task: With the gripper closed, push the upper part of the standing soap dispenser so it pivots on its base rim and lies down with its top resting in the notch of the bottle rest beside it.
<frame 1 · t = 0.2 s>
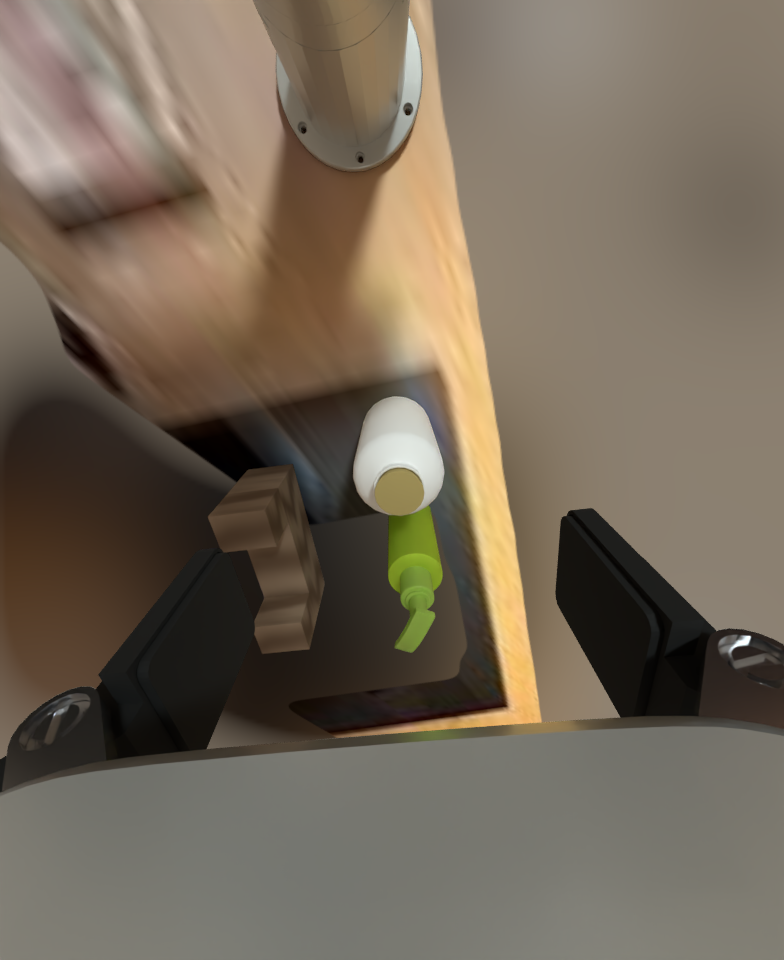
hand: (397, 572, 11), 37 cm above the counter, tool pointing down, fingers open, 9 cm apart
potion bottle: (396, 427, 47), on the counter
bottle rest: (289, 531, 53), on the counter
soap dispenser: (408, 516, 53), on the counter
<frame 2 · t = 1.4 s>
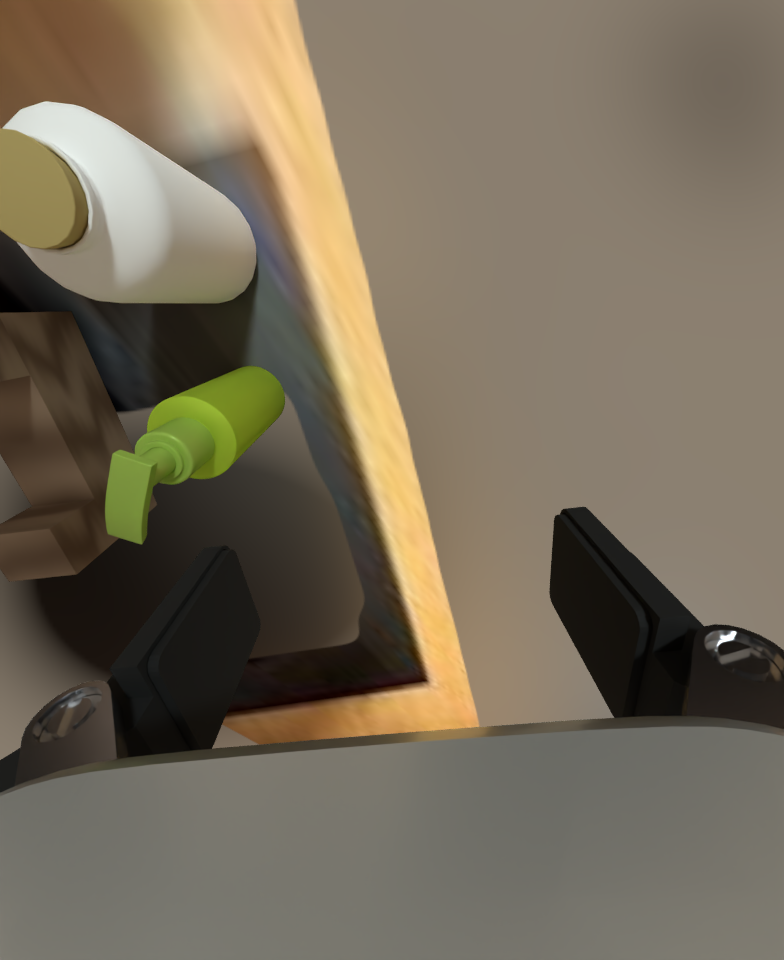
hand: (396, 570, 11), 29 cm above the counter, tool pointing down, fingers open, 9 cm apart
potion bottle: (211, 249, 32), on the counter
bottle rest: (90, 422, 38), on the counter
soap dispenser: (254, 400, 38), on the counter
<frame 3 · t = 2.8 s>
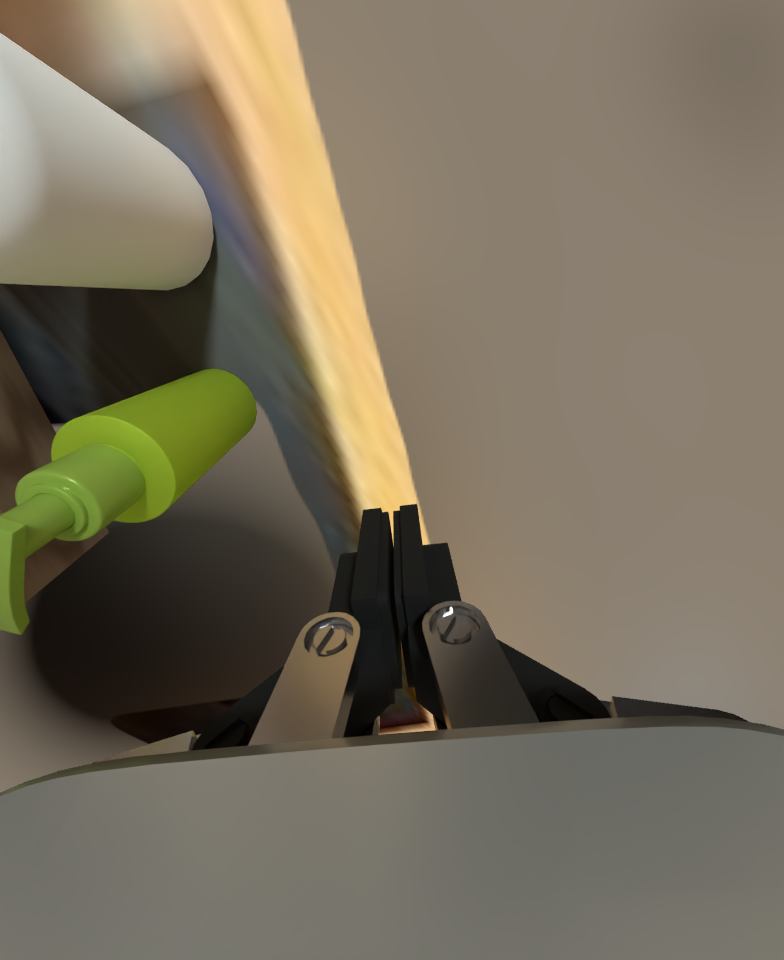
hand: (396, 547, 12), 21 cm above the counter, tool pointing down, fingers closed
potion bottle: (157, 221, 25), on the counter
bottle rest: (21, 436, 31), on the counter
soap dispenser: (219, 411, 31), on the counter
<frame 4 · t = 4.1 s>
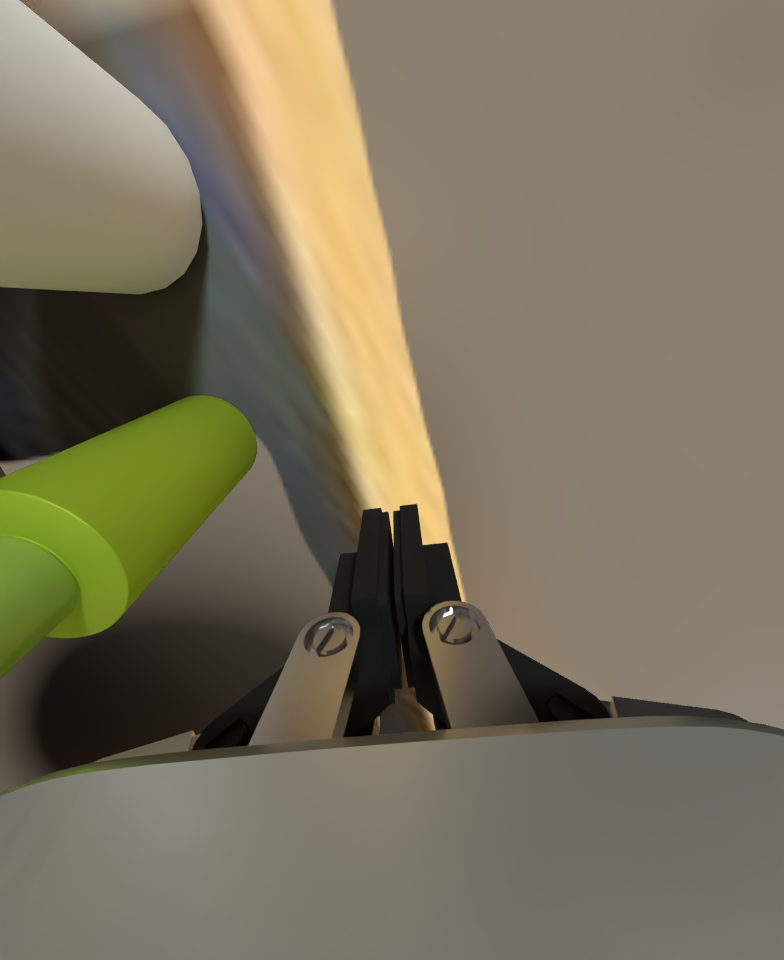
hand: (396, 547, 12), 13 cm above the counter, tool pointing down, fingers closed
potion bottle: (128, 203, 19), on the counter
soap dispenser: (210, 447, 24), on the counter
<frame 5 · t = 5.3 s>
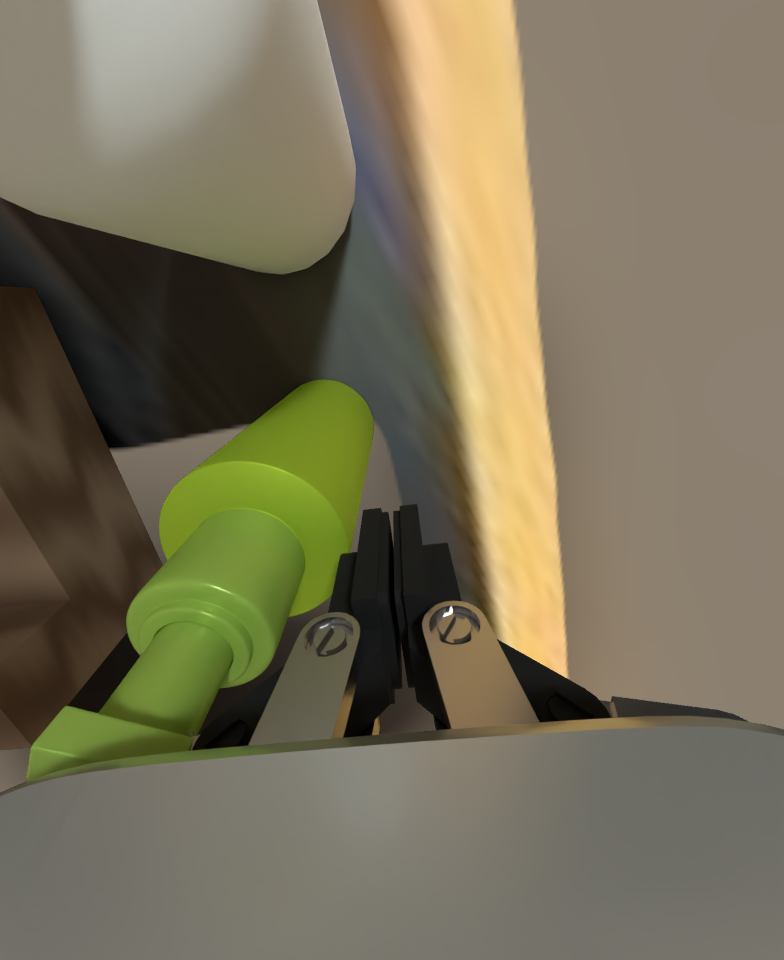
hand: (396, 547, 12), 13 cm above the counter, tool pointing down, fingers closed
potion bottle: (274, 181, 19), on the counter
bottle rest: (69, 463, 25), on the counter
soap dispenser: (325, 433, 24), on the counter, touching gripper
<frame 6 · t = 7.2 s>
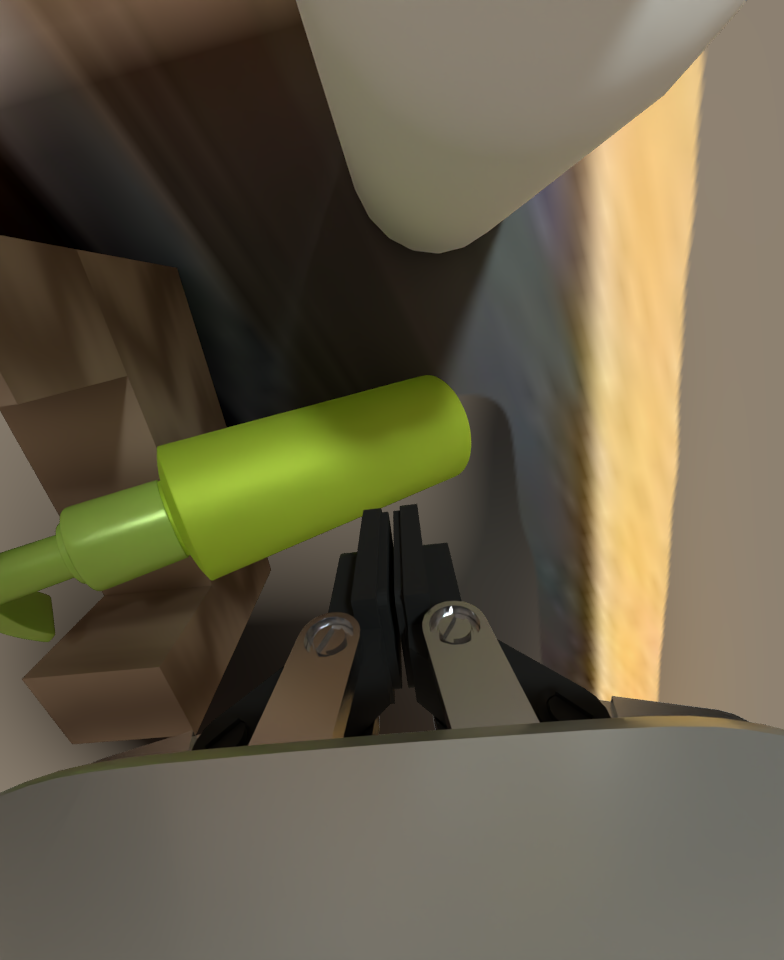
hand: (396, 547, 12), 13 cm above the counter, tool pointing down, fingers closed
potion bottle: (435, 157, 18), on the counter
bottle rest: (186, 450, 24), on the counter
soap dispenser: (436, 433, 22), point 2 cm above the counter, touching bottle rest
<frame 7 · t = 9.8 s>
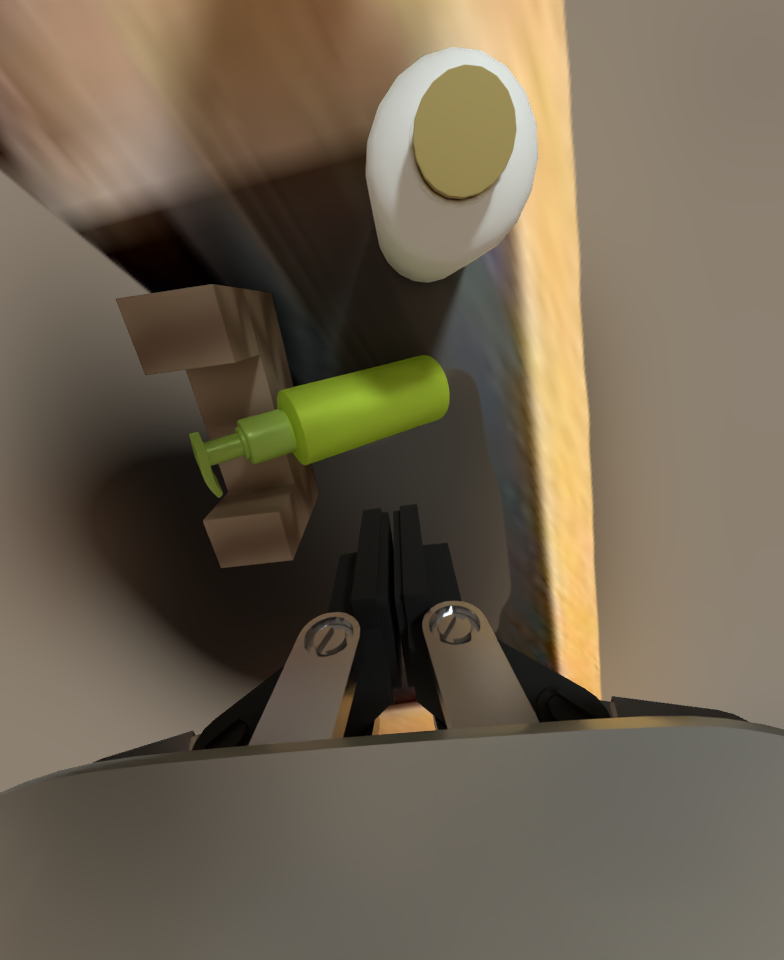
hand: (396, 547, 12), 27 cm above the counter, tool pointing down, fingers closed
potion bottle: (425, 227, 31), on the counter
bottle rest: (268, 408, 37), on the counter
soap dispenser: (429, 392, 35), point 2 cm above the counter, touching bottle rest
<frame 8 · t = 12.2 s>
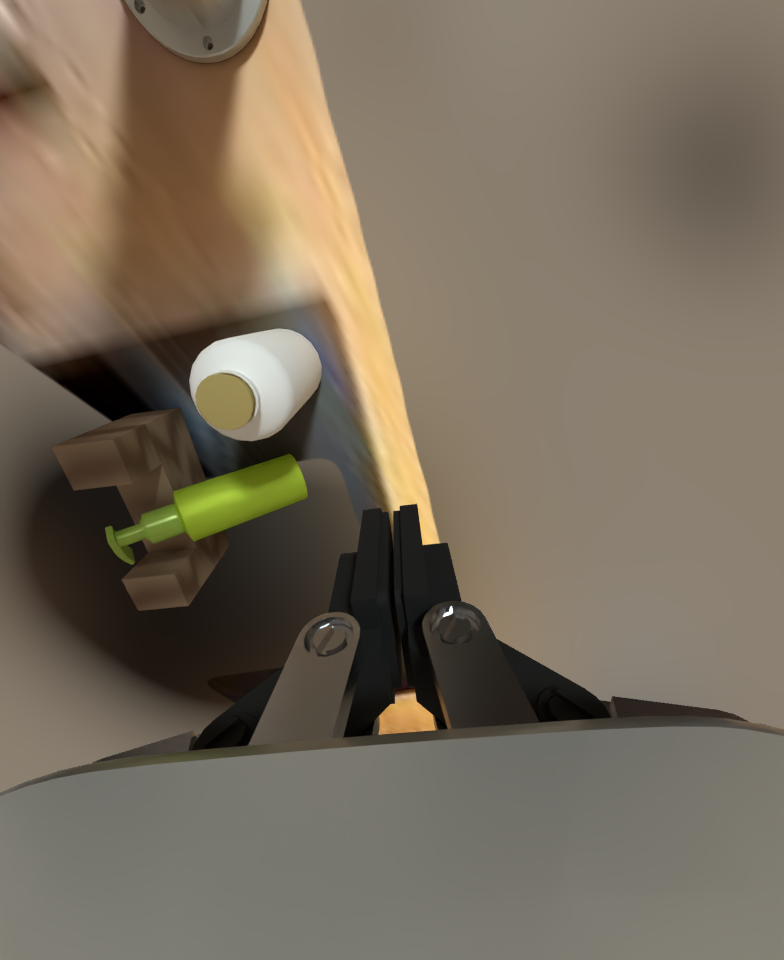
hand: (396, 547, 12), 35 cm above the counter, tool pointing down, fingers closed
potion bottle: (287, 366, 44), on the counter
bottle rest: (184, 484, 50), on the counter
soap dispenser: (299, 478, 47), point 2 cm above the counter, touching bottle rest
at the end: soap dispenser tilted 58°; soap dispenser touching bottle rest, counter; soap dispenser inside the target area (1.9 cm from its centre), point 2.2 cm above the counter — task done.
